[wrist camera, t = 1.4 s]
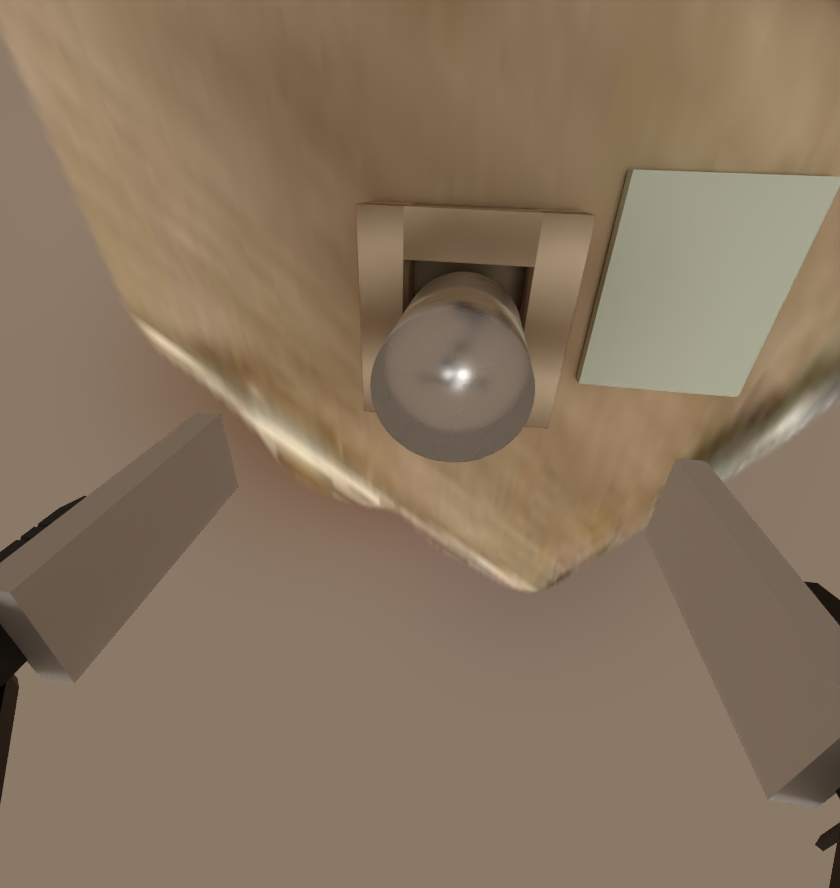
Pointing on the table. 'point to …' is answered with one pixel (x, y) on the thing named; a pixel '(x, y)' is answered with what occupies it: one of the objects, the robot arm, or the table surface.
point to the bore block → (479, 242)
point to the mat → (698, 277)
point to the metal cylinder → (455, 371)
